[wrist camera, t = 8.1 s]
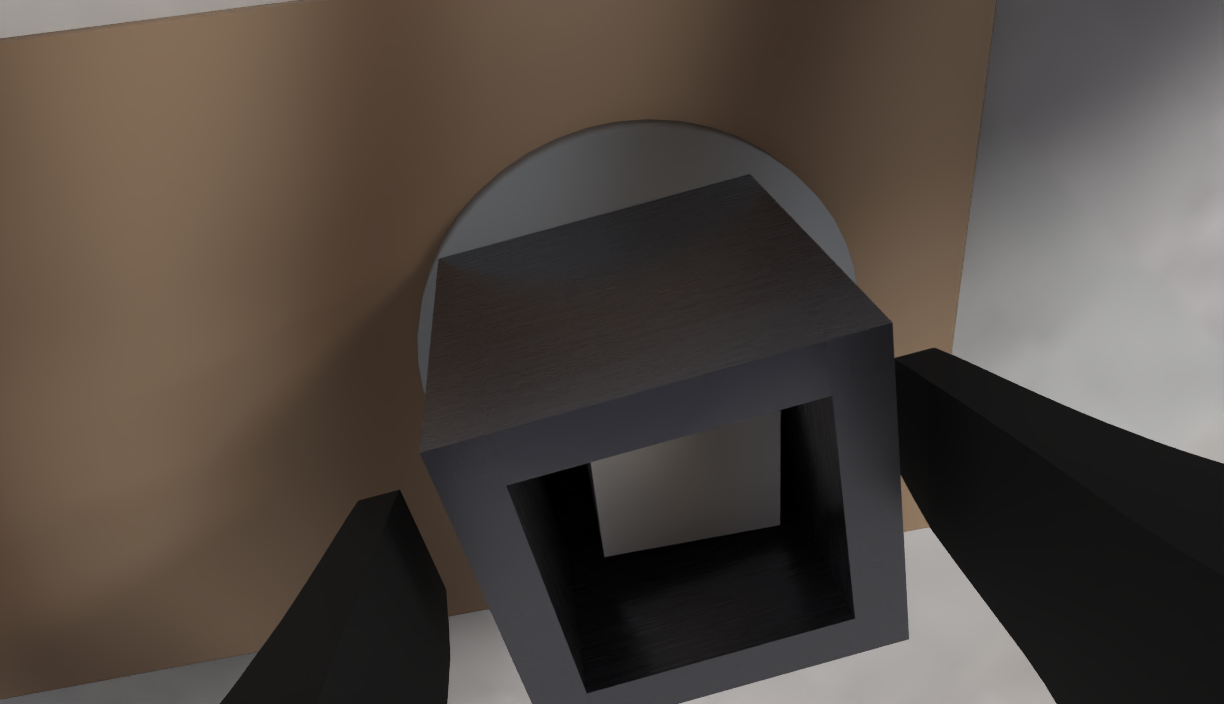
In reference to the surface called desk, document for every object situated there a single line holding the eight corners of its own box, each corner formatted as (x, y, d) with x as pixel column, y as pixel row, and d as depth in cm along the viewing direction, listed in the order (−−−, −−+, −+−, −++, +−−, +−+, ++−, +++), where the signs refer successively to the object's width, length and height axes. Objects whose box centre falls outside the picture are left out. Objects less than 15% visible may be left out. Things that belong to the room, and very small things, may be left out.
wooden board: (964, -90, 13) (1218, -79, 8) (904, 492, 19) (1033, 674, 15) (-391, 84, 11) (-935, 207, 7) (15, 654, 17) (-139, 909, 13)
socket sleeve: (749, 174, 13) (892, 322, 8) (785, 425, 15) (909, 638, 11) (438, 258, 13) (419, 453, 8) (527, 497, 15) (548, 740, 11)
